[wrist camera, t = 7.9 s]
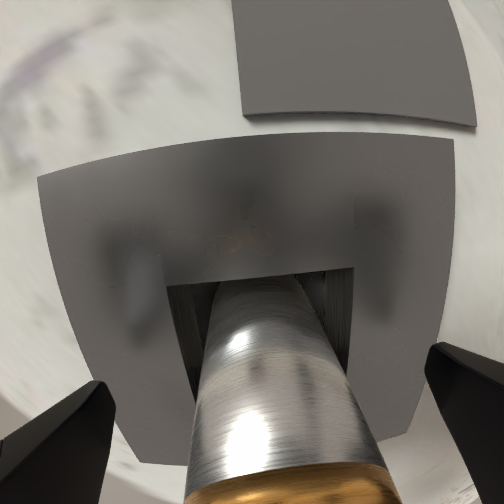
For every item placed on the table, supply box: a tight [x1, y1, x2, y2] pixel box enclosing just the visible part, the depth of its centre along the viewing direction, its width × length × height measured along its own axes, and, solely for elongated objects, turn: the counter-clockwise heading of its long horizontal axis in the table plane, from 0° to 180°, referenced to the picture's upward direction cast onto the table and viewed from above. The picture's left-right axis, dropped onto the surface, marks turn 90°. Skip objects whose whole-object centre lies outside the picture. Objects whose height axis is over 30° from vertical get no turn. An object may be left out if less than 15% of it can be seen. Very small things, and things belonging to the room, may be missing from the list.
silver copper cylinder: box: [183, 274, 402, 504], centre depth 7 cm, size 4×4×9 cm
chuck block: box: [37, 132, 455, 466], centre depth 10 cm, size 12×12×3 cm
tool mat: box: [232, 0, 477, 127], centre depth 8 cm, size 10×8×1 cm
